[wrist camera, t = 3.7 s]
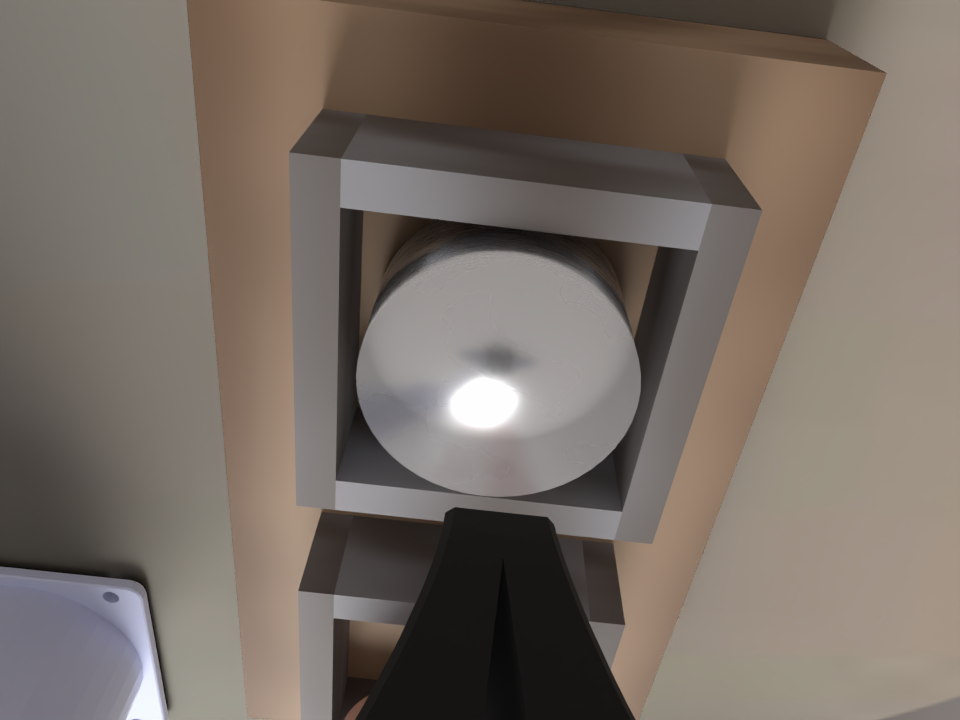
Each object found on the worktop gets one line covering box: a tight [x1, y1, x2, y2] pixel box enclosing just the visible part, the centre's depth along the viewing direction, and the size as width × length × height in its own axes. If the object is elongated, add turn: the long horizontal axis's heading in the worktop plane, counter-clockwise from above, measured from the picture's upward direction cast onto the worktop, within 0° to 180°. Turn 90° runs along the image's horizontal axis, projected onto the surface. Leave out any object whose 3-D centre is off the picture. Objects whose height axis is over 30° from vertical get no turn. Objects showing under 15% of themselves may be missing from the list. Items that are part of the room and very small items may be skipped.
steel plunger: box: [356, 219, 641, 497], centre depth 15 cm, size 5×5×2 cm
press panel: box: [187, 0, 887, 720], centre depth 19 cm, size 12×21×6 cm, turn 174°
